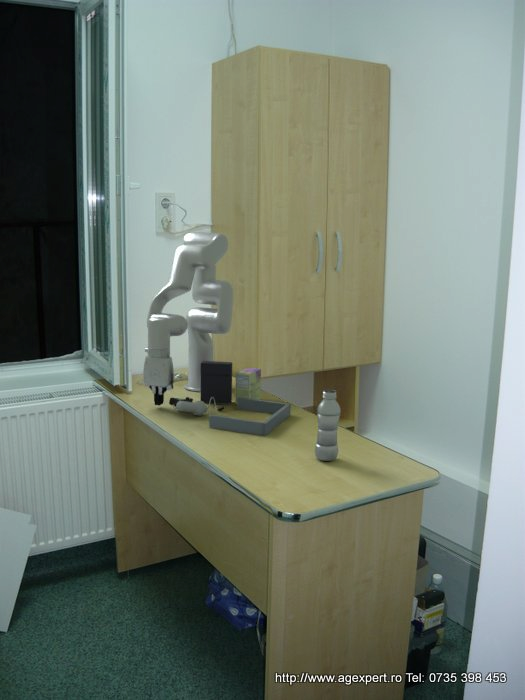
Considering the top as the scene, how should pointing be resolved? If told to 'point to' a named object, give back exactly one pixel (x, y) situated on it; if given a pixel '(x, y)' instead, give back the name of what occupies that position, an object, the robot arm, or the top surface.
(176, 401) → the clip-on lamp
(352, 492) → the top surface
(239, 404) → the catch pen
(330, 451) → the plastic bottle
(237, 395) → the box
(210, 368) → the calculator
